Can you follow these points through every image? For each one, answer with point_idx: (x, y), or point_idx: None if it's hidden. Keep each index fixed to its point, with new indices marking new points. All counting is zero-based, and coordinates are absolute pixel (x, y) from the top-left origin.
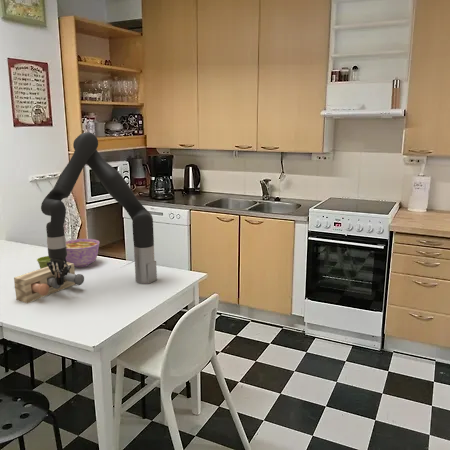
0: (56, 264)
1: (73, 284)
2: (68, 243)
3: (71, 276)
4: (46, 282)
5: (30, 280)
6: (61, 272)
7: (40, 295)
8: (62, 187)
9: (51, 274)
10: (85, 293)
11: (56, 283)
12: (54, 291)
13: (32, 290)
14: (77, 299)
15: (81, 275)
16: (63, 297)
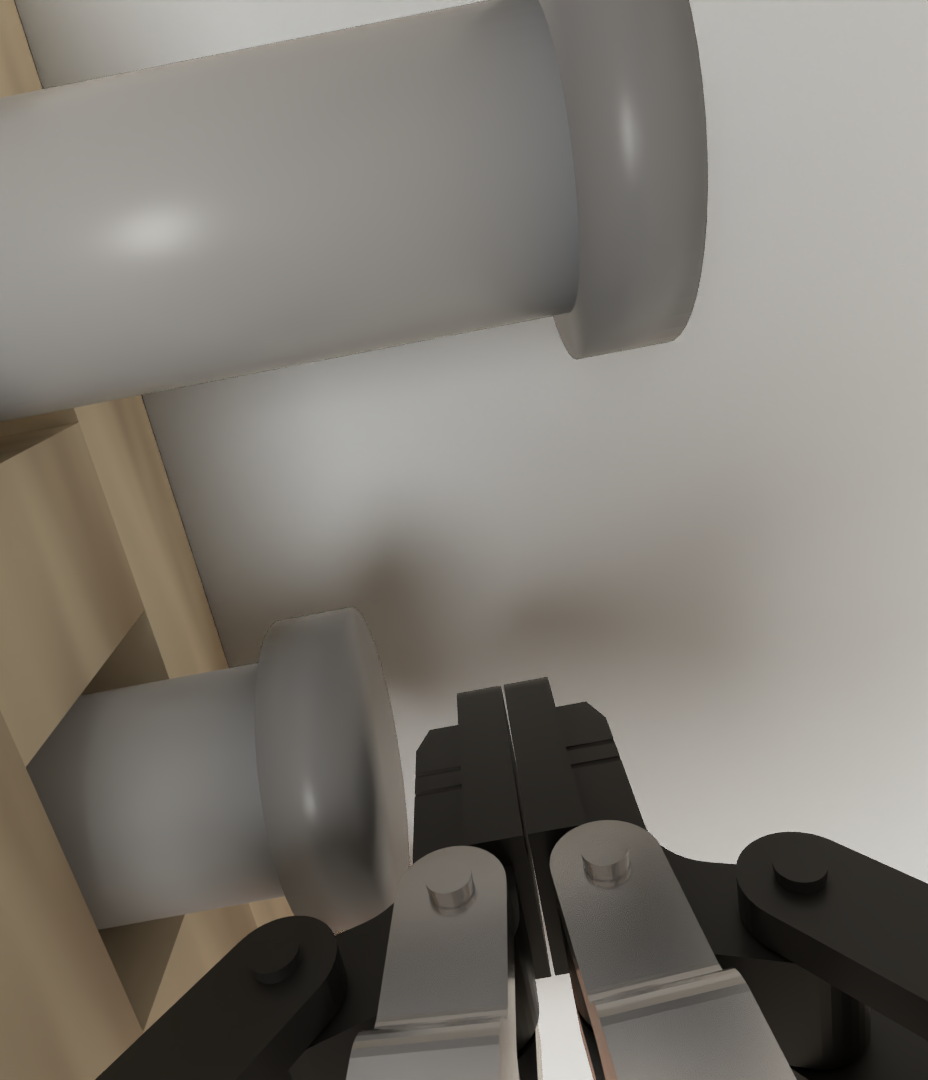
0: None
1: (18, 36)
2: None
3: (352, 319)
4: (183, 948)
5: None
6: (580, 977)
7: (286, 900)
8: None
9: (51, 955)
10: (780, 194)
11: (388, 791)
12: (202, 611)
13: None
14: (898, 501)
15: (676, 19)
16: (588, 618)
